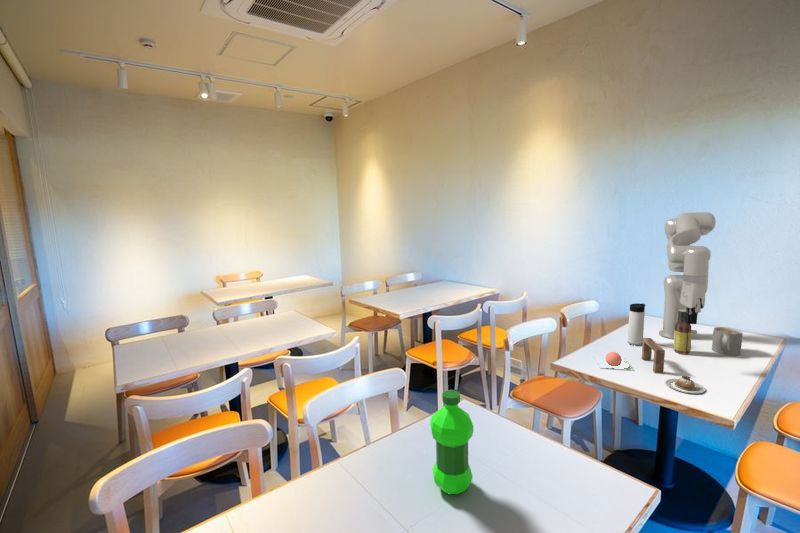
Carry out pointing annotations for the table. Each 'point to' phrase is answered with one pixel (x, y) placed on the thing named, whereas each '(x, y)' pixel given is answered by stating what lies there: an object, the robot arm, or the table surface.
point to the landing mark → (629, 366)
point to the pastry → (685, 385)
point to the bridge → (658, 354)
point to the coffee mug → (727, 341)
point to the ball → (613, 359)
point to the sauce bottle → (682, 334)
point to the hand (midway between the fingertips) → (691, 323)
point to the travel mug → (636, 324)
